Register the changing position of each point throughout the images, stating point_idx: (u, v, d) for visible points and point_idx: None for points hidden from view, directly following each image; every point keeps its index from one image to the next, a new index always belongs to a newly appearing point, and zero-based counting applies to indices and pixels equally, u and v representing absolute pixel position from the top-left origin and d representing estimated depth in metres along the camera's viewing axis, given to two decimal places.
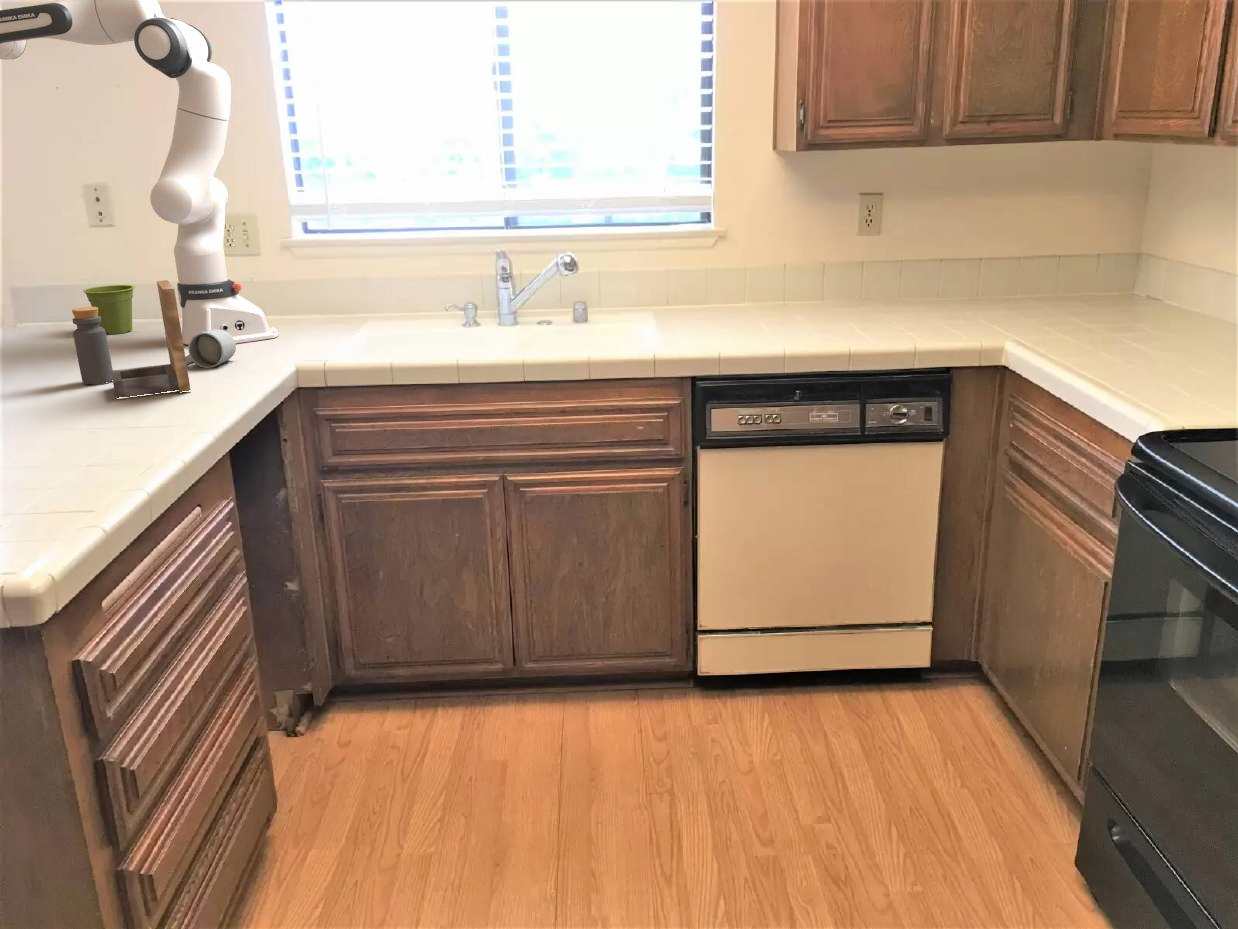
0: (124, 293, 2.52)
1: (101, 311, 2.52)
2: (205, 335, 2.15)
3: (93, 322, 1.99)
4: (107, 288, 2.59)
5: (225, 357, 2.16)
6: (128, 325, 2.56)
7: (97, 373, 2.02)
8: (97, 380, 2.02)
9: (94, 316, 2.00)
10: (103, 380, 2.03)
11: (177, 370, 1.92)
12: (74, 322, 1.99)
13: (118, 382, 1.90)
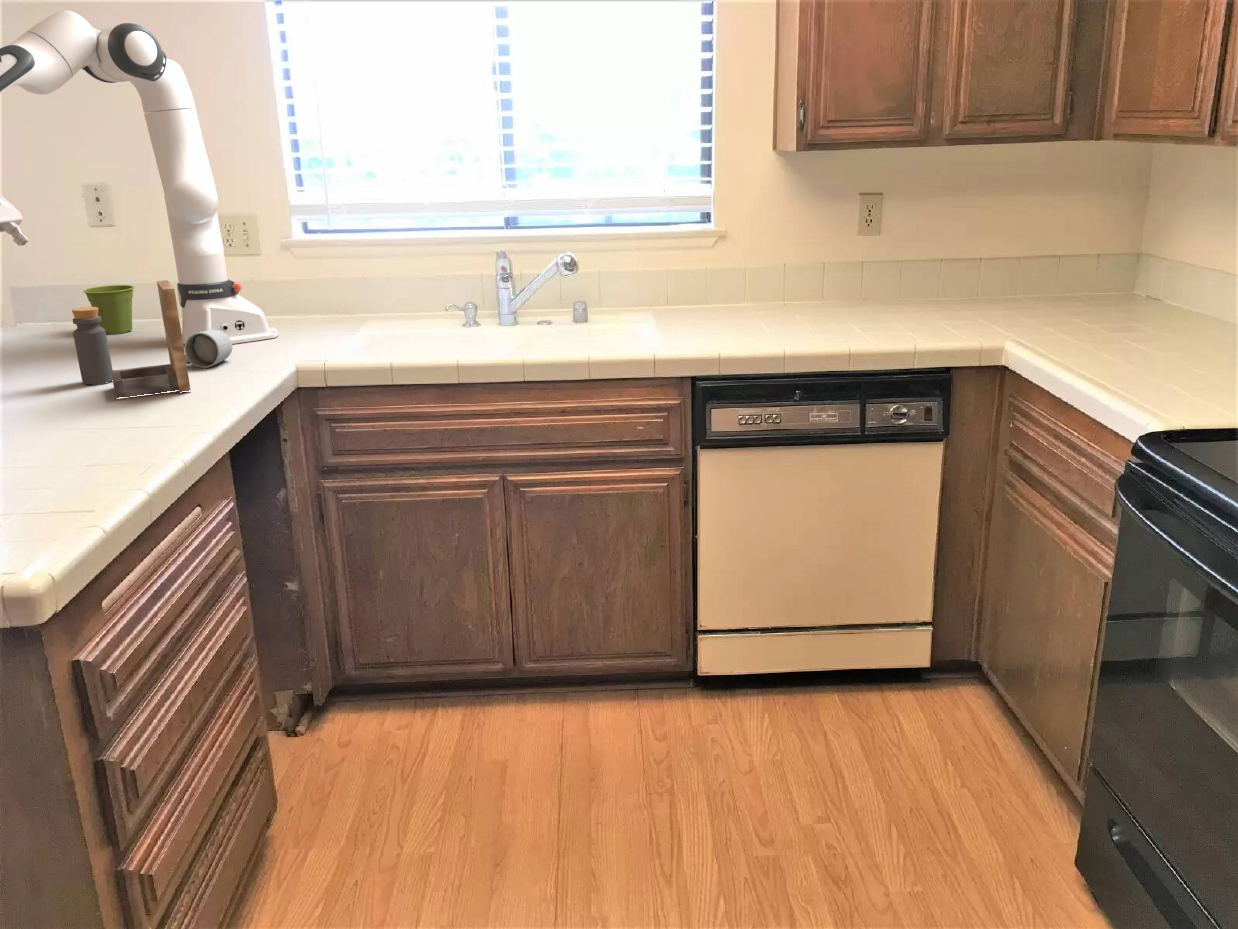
0: (124, 293, 2.52)
1: (101, 311, 2.52)
2: (201, 335, 2.15)
3: (93, 322, 1.99)
4: (107, 288, 2.59)
5: (221, 357, 2.16)
6: (128, 325, 2.56)
7: (97, 373, 2.02)
8: (97, 380, 2.02)
9: (94, 316, 2.00)
10: (103, 380, 2.03)
11: (177, 370, 1.92)
12: (74, 322, 1.99)
13: (118, 382, 1.90)
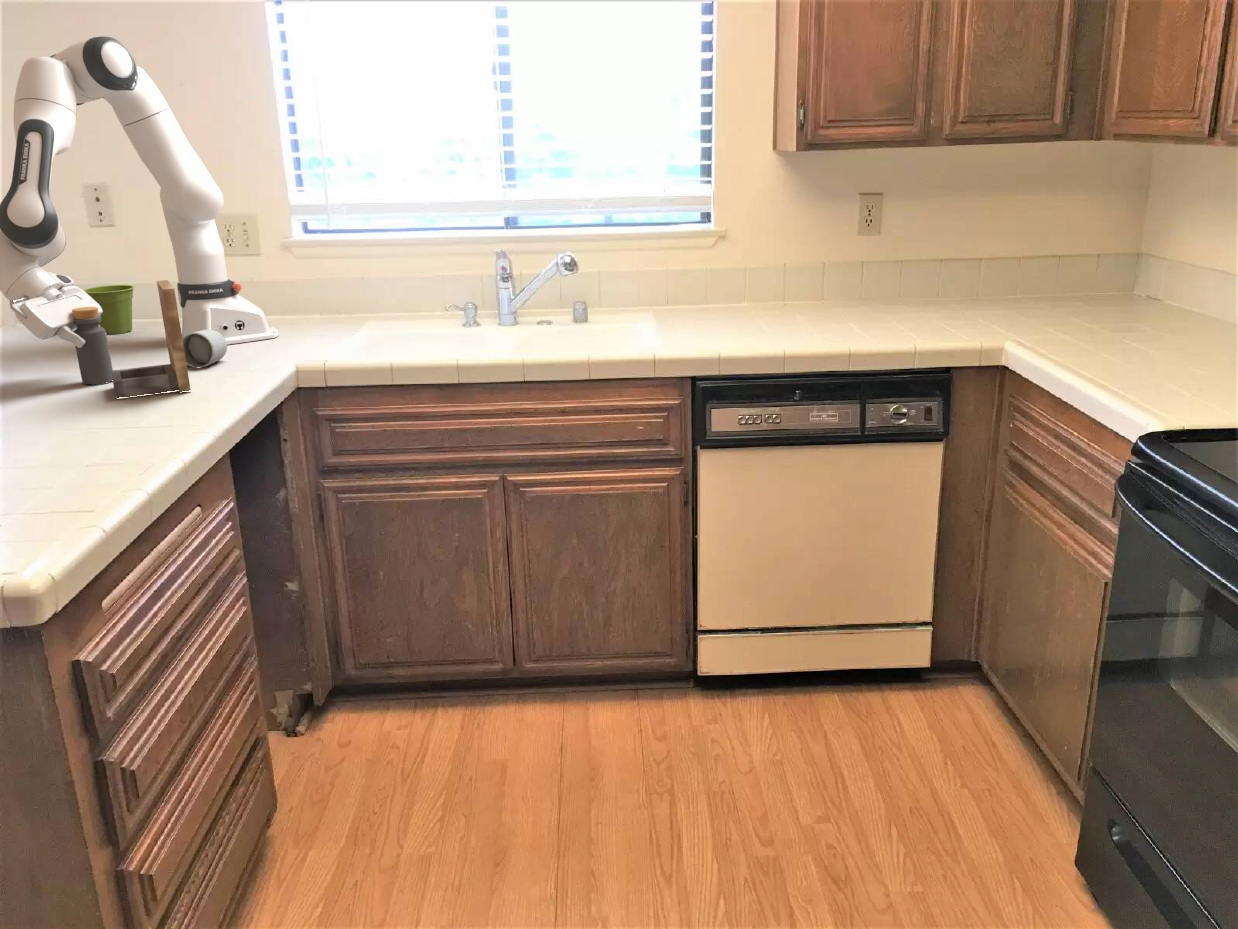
0: (124, 293, 2.52)
1: None
2: (196, 335, 2.15)
3: (93, 322, 1.99)
4: (107, 288, 2.59)
5: (216, 357, 2.16)
6: (128, 325, 2.56)
7: (97, 373, 2.02)
8: (97, 380, 2.02)
9: (94, 316, 2.00)
10: (103, 380, 2.03)
11: (177, 370, 1.92)
12: (74, 322, 1.99)
13: (118, 382, 1.90)
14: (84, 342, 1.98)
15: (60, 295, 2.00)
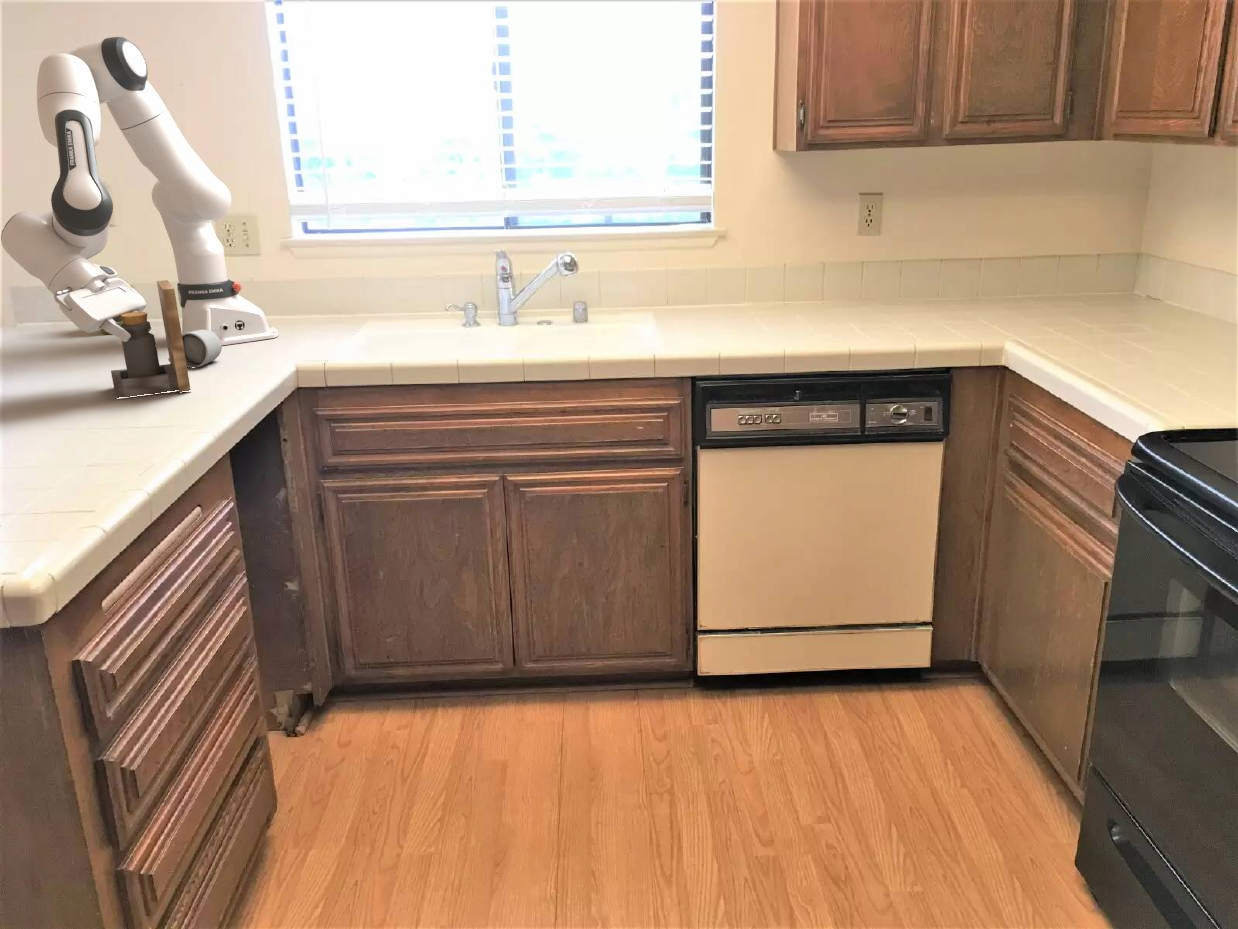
0: None
1: None
2: (190, 335, 2.15)
3: (141, 328, 1.92)
4: None
5: (210, 357, 2.16)
6: None
7: None
8: None
9: (142, 322, 1.92)
10: None
11: (177, 370, 1.92)
12: None
13: (118, 382, 1.90)
14: (130, 336, 1.90)
15: (104, 287, 1.92)
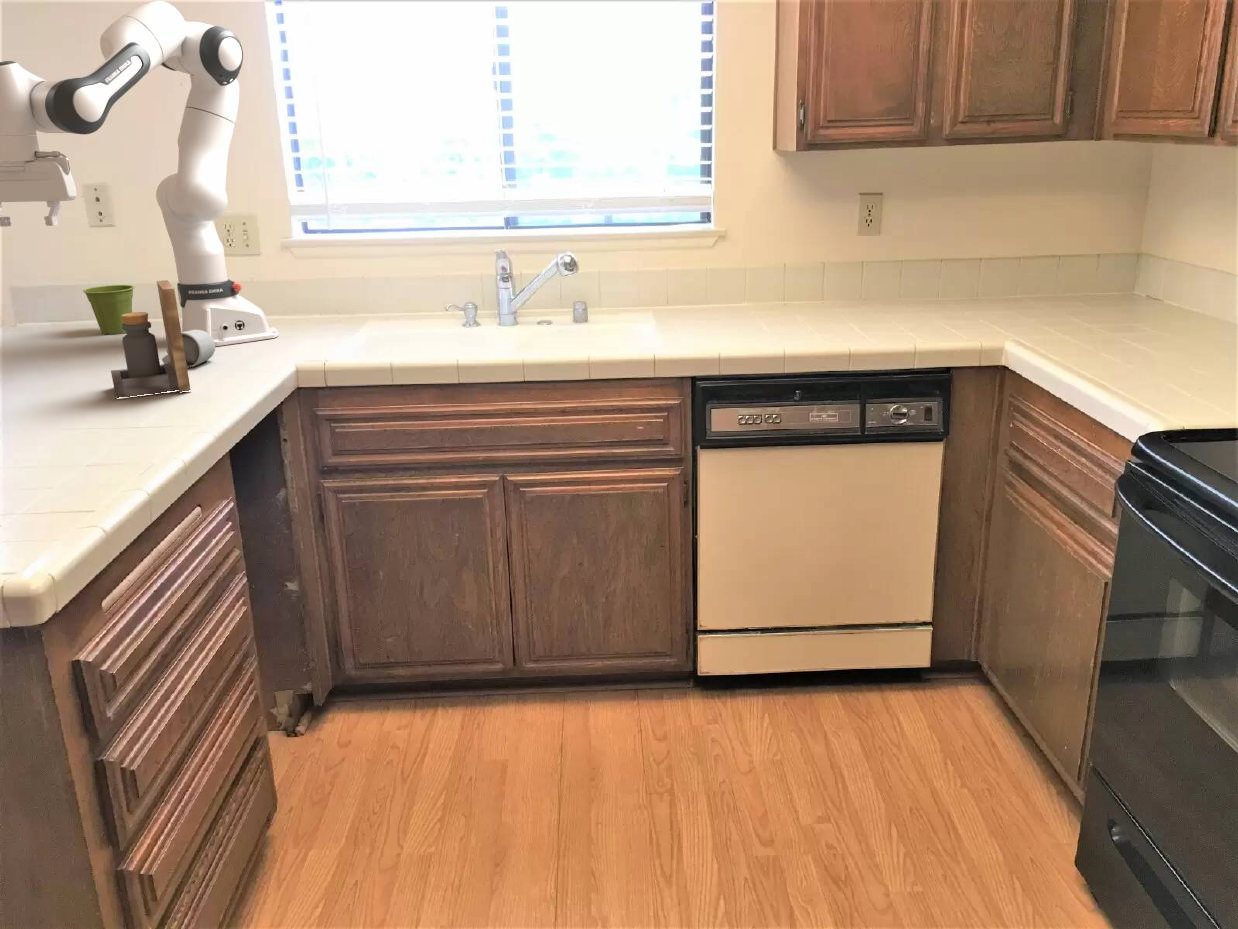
0: (124, 293, 2.52)
1: (101, 311, 2.52)
2: (183, 335, 2.15)
3: (142, 328, 1.92)
4: (107, 288, 2.59)
5: (203, 357, 2.16)
6: None
7: None
8: None
9: (143, 322, 1.92)
10: None
11: (177, 370, 1.92)
12: (123, 328, 1.91)
13: (118, 382, 1.90)
14: None
15: None
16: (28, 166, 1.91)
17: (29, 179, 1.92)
